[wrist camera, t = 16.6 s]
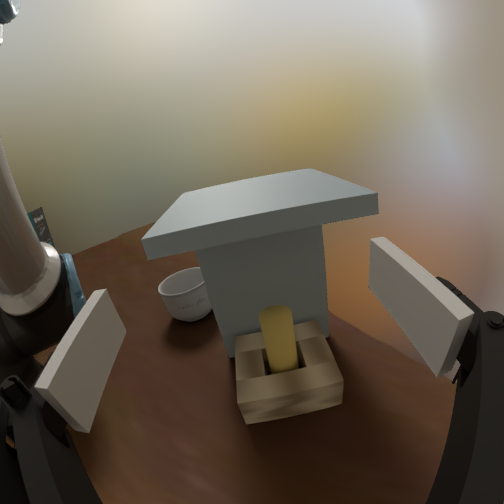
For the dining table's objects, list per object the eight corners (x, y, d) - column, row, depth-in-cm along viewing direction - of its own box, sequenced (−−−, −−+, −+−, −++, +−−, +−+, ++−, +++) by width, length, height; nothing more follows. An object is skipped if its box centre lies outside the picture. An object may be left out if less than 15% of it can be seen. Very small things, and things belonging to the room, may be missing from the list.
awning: (231, 439, 27) (141, 239, 17) (228, 349, 42) (183, 193, 32) (361, 410, 27) (377, 192, 17) (325, 329, 42) (310, 168, 32)
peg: (275, 394, 32) (260, 327, 28) (272, 375, 36) (257, 308, 31) (302, 388, 32) (294, 320, 28) (297, 370, 36) (288, 302, 31)
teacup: (186, 336, 47) (172, 300, 44) (161, 315, 55) (148, 283, 52) (242, 300, 55) (233, 266, 52) (211, 286, 63) (203, 255, 60)
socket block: (246, 424, 28) (237, 403, 26) (241, 360, 40) (234, 336, 38) (341, 403, 28) (343, 380, 26) (318, 344, 39) (316, 319, 38)
